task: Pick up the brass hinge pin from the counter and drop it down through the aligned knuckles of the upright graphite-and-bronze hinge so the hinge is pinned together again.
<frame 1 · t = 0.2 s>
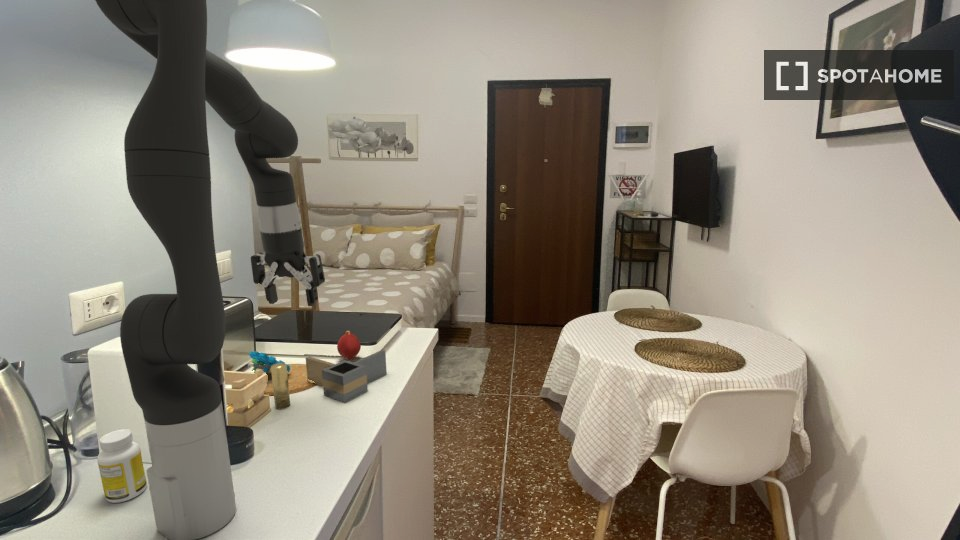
hand: (292, 303, 103), 22 cm above the kitchen counter, tool pointing down, fingers open, 8 cm apart
hinge pin: (282, 405, 106), on the kitchen counter
supplement bottle: (126, 493, 79), on the kitchen counter
blue fuzzy lump: (270, 377, 121), on the kitchen counter
onion: (350, 360, 130), on the kitchen counter
hinge: (346, 393, 111), on the kitchen counter
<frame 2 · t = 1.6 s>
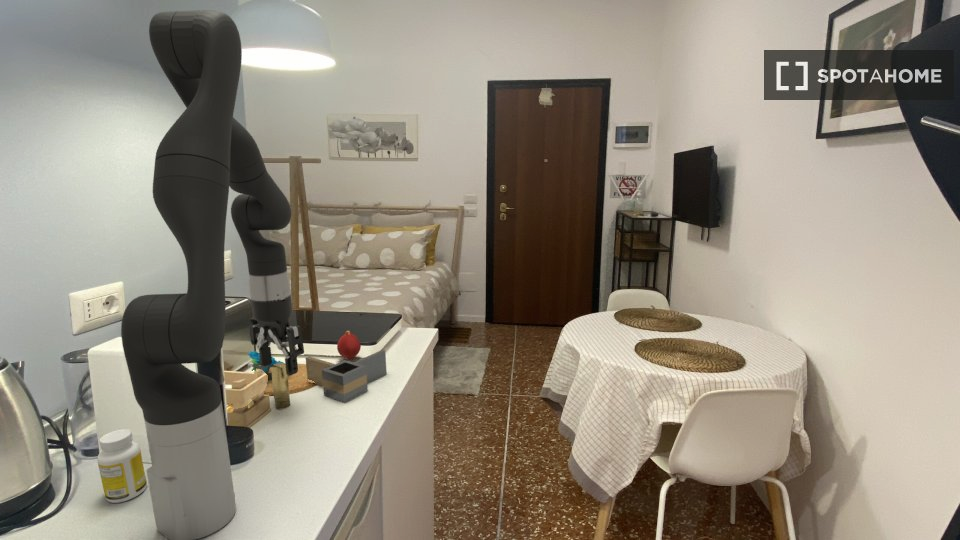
hand: (279, 369, 105), 8 cm above the kitchen counter, tool pointing down, fingers open, 8 cm apart
nothing on the kitchen counter moved.
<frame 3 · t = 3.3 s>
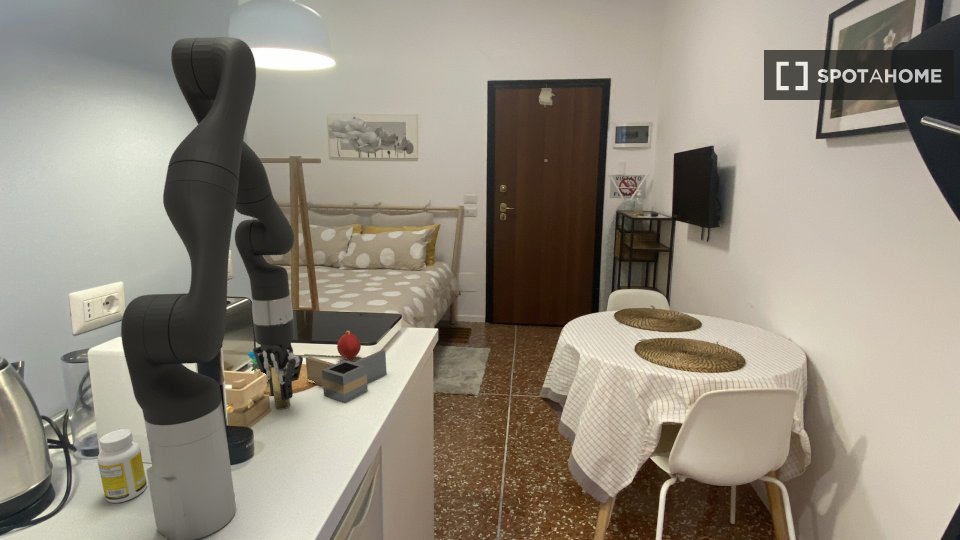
hand: (281, 396, 106), 2 cm above the kitchen counter, tool pointing down, fingers closed on hinge pin, 3 cm apart
hinge pin: (282, 405, 106), on the kitchen counter, touching gripper
everything else where it was.
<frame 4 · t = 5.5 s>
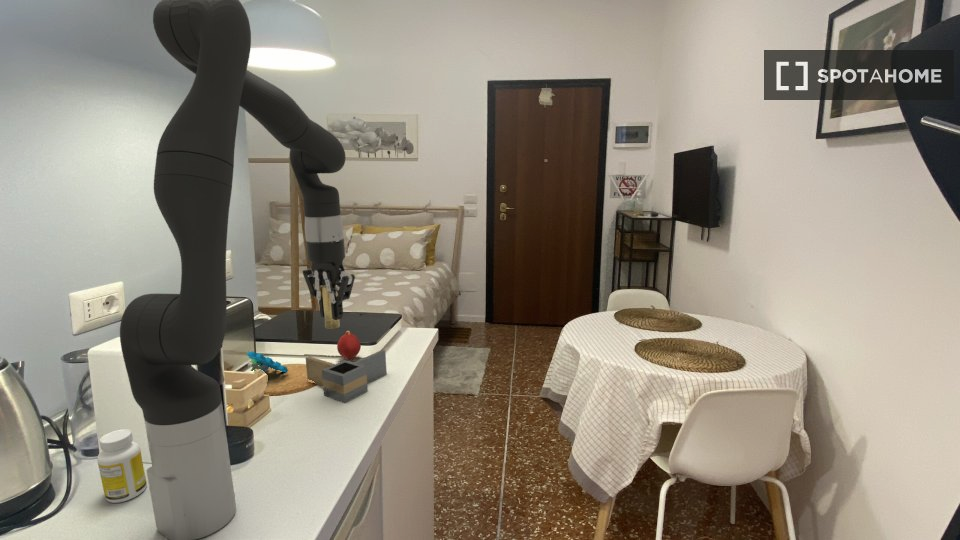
hand: (331, 317, 108), 18 cm above the kitchen counter, tool pointing down, fingers closed on hinge pin, 3 cm apart
hinge pin: (332, 326, 108), point 15 cm above the kitchen counter, touching gripper
everything else where it was.
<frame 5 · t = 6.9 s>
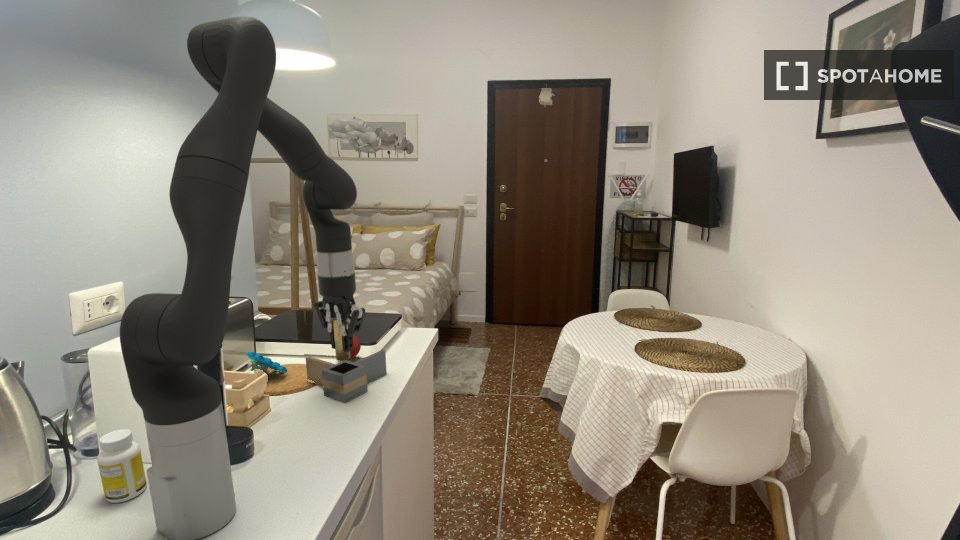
hand: (342, 349, 109), 10 cm above the kitchen counter, tool pointing down, fingers closed on hinge pin, 3 cm apart
hinge pin: (343, 358, 110), point 8 cm above the kitchen counter, touching gripper
everything else where it was.
when the fingers open (10 cm above the kitchen counter, at t = 7.7 s): hinge pin drops 7 cm, resting in hinge.
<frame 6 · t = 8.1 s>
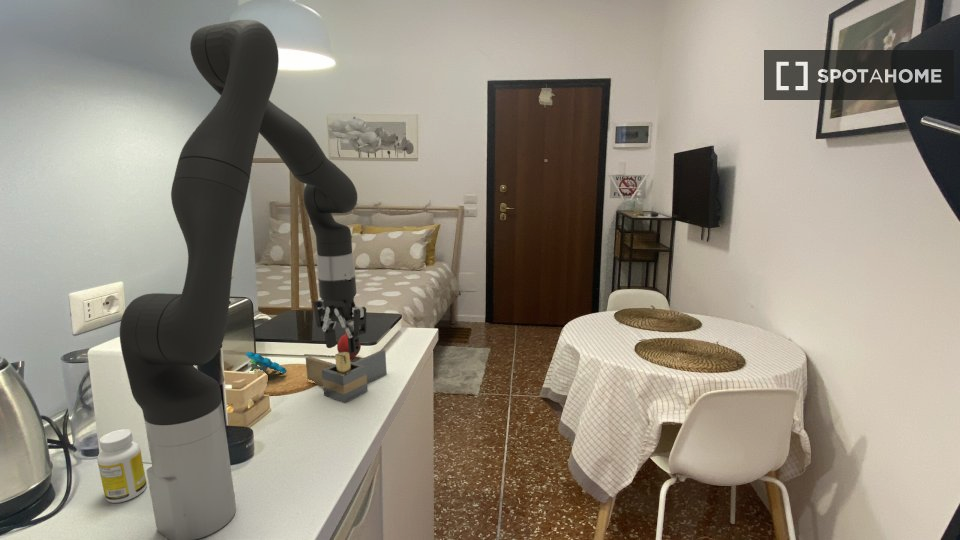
hand: (342, 349, 109), 10 cm above the kitchen counter, tool pointing down, fingers open, 6 cm apart
hinge pin: (346, 393, 111), resting in hinge
everything else where it was.
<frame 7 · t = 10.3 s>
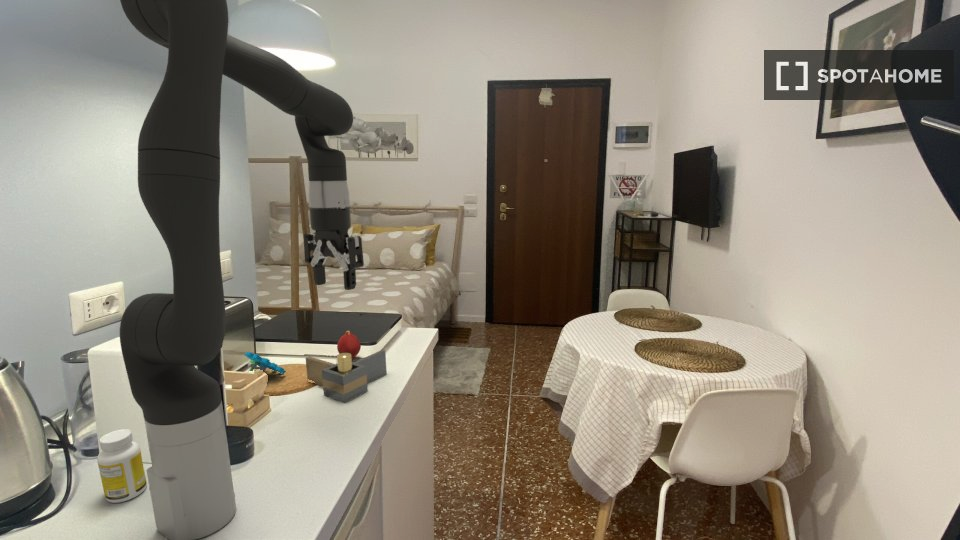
hand: (335, 286, 101), 26 cm above the kitchen counter, tool pointing down, fingers open, 8 cm apart
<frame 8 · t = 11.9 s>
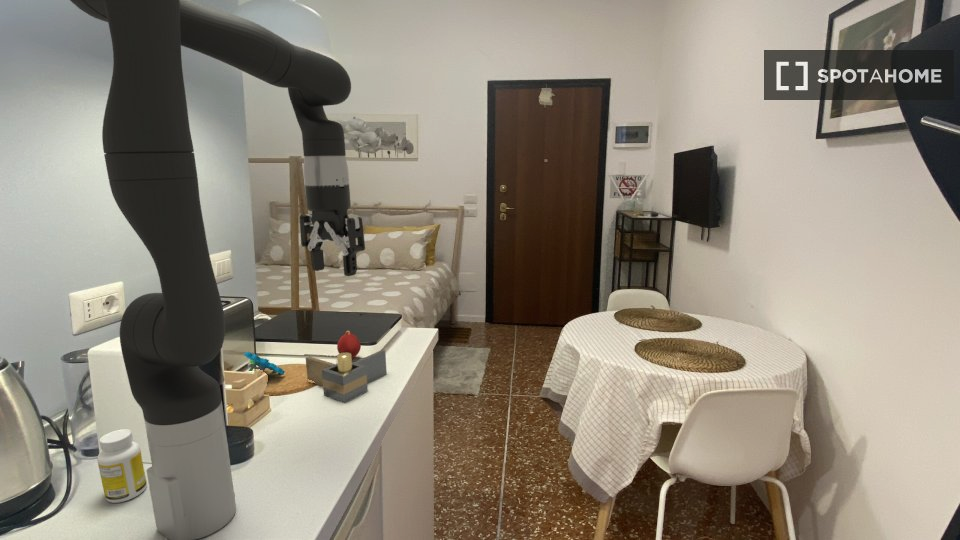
hand: (334, 272, 92), 30 cm above the kitchen counter, tool pointing down, fingers open, 8 cm apart
at the end: hinge pin 0.2 cm off-centre on the hinge, point 0.0 cm above the hinge's base; hinge pin tilted 1°; the gripper is holding nothing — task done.
